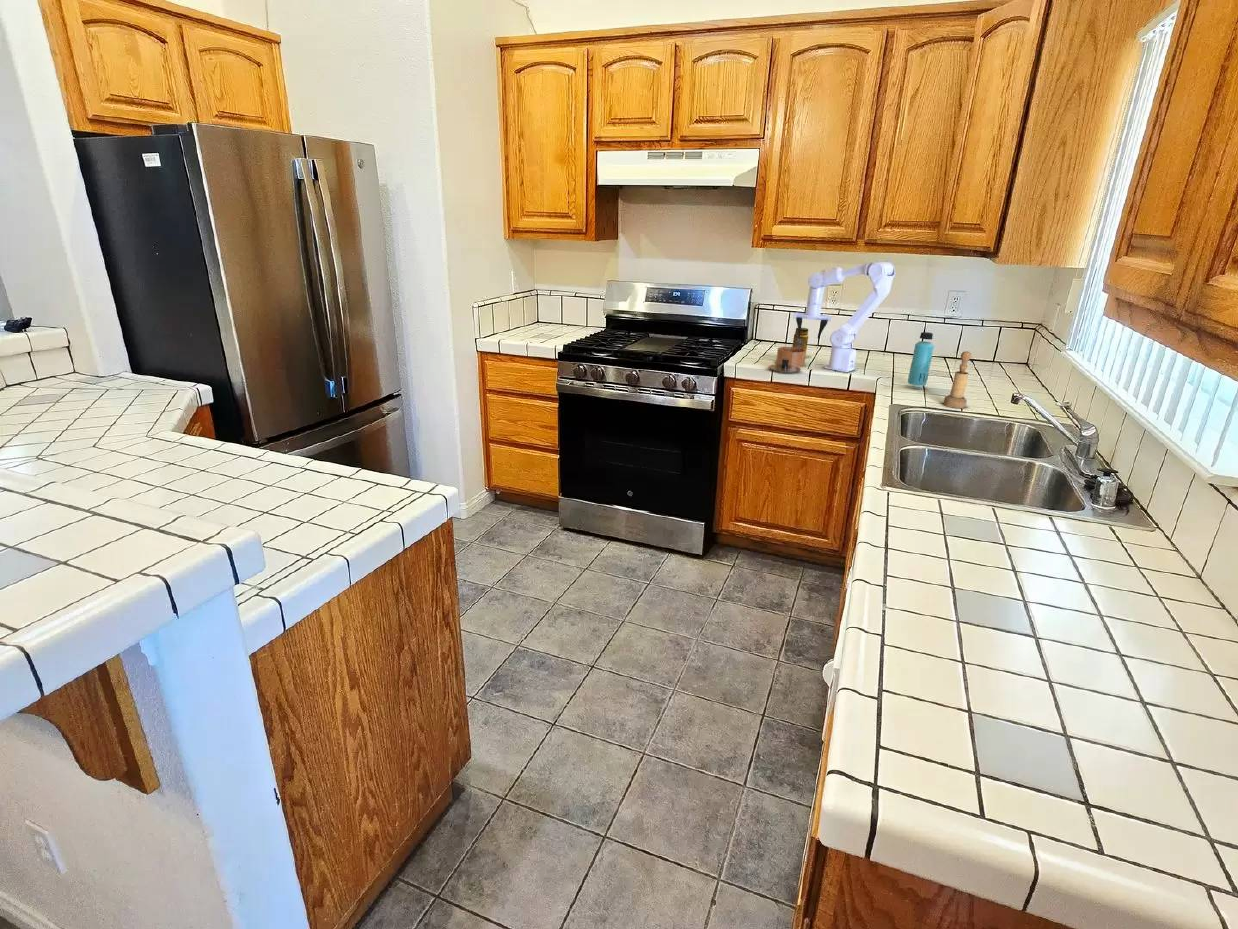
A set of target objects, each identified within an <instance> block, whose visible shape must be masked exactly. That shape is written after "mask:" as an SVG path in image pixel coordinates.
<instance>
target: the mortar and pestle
mask: <svg viewBox="0 0 1238 929" xmlns="http://www.w3.org/2000/svg"><path fill="white" fill-rule="evenodd" d="M971 358H972V353H971V351H962V352H961V354H960V359H961V364H959V370H957V371H955V372H954V376H953V381H952V384H951V385H952V386H951V388H950V394H947V395H946V396H945V397H944V399H943V405H944V406H946V407H949V408H954V409H964V408H966V405H967V402H968V400H967V399H966V397H964V395H965V390H966V386H967V382H968V378H969V375H970V374H969V372H967V371H966V370H967V369H968V364H967V363H968V362H969V361H970V360H971Z"/></svg>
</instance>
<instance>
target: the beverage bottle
mask: <svg viewBox="0 0 1238 929" xmlns="http://www.w3.org/2000/svg"><path fill="white" fill-rule="evenodd" d="M933 337H934V334H933V332H929V331H928V332H927V331H922V332H920V335H919V339H921V340H919V341H918V342H916V343H915V344H914V350H913V354H912V358H911V364H910V367H909V373H908V378H907V383H908V384H909V385H912V386H916V387H917V386H919V387H923V386H926V385H927V382H928V378H929V374H930V373H929V372H930V369H931V368H930V367H931V363H932V359H933V352H934V348H935V345H934V344H933V343H932V342H931V341H930V340H933V339H934V338H933ZM924 340H929V341H924Z"/></svg>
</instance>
